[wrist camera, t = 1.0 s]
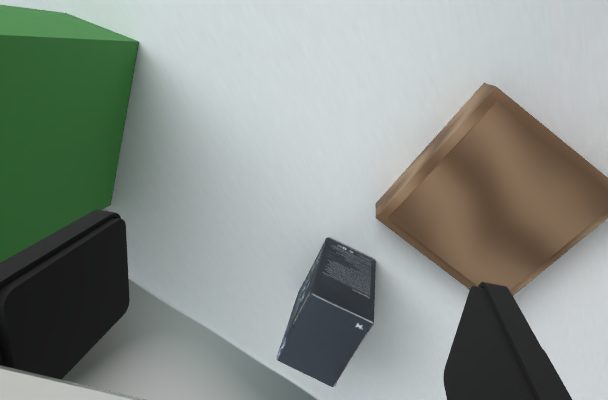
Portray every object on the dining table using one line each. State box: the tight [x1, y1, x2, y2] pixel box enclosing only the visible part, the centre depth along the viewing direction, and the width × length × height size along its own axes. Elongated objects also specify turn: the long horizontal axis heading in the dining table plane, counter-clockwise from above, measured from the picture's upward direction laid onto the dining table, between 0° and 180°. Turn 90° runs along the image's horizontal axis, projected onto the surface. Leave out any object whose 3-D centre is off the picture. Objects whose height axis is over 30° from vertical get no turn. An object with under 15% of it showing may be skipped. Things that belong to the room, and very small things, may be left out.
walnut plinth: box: [376, 83, 608, 296], centre depth 35 cm, size 14×14×4 cm
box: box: [276, 238, 376, 387], centre depth 37 cm, size 8×6×11 cm
